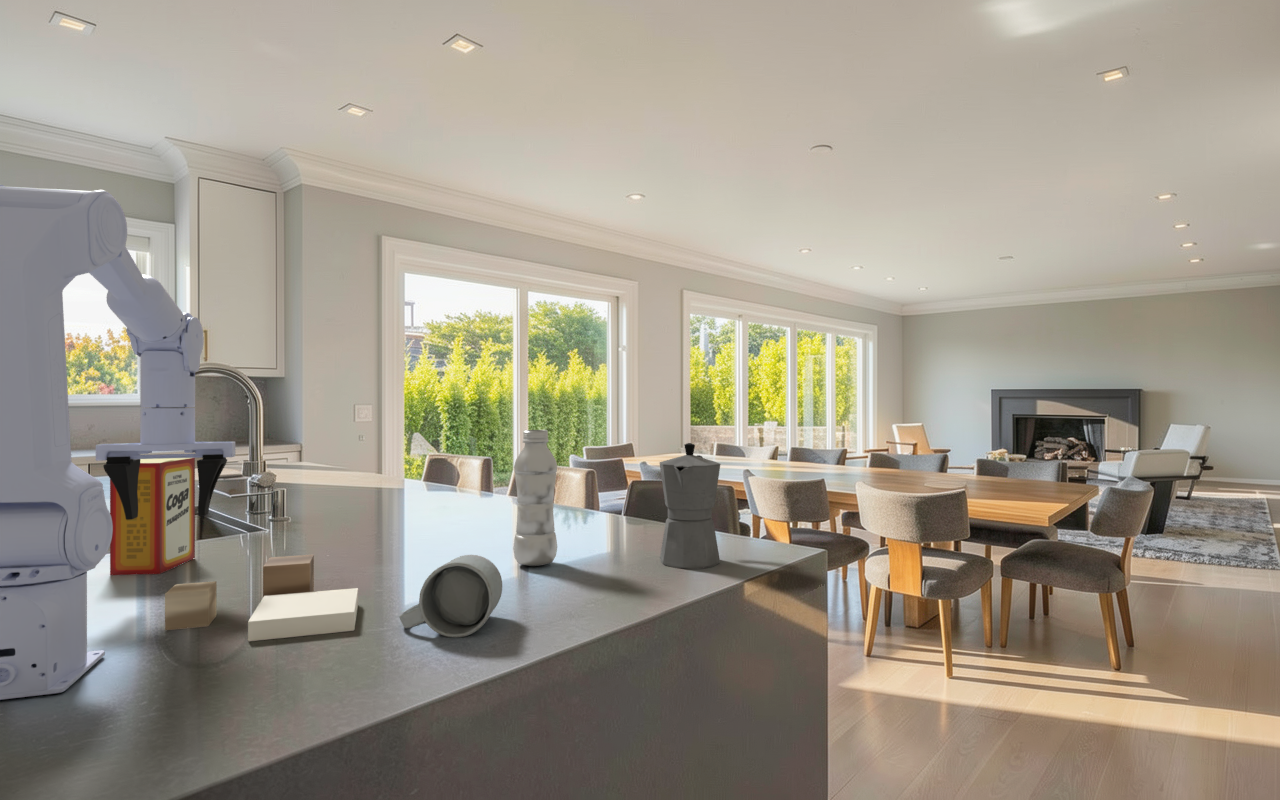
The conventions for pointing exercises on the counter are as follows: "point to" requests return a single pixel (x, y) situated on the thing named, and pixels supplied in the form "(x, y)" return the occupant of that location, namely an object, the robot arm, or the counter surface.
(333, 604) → the base
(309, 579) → the walnut block
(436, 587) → the ceramic mug
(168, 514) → the baking soda box
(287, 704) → the counter surface
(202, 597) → the maple block
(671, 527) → the coffeepot
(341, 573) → the counter surface
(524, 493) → the plastic bottle
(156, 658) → the counter surface
